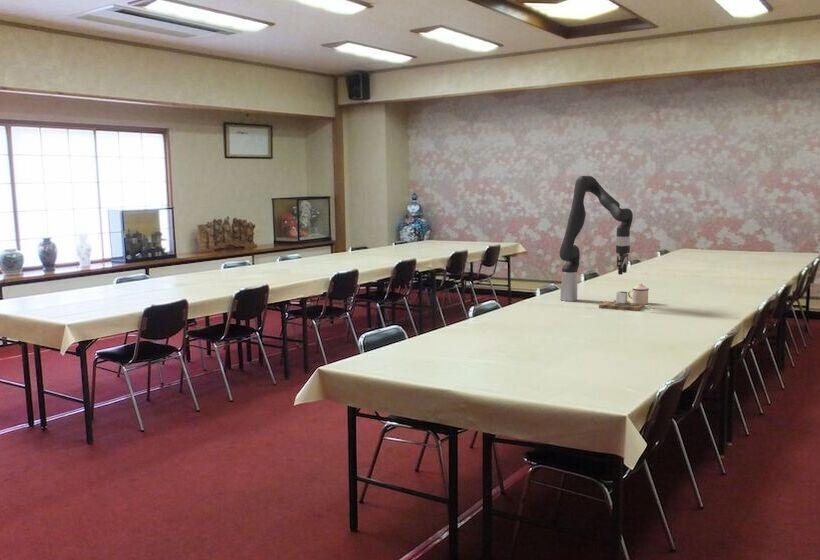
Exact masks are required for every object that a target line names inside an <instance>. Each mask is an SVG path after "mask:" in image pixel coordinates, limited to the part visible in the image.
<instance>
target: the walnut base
mask: <svg viewBox="0 0 820 560" xmlns="http://www.w3.org/2000/svg"><path fill="white" fill-rule="evenodd" d="M645 306H646V304H639V303H632V302H630V303H616V302H614V301H603V302H602V303H600V304H598V309H605V310H621V311H631V312H632V311H633V312H639V311H641V310H643V309H645Z"/></svg>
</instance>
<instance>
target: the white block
mask: <svg viewBox="0 0 820 560" xmlns="http://www.w3.org/2000/svg"><path fill="white" fill-rule="evenodd" d="M628 292H629V291H622V290H621V291H617V292H616V295H615V296H616V299H614V300H613V302H616V303H631V302H630V300H628Z"/></svg>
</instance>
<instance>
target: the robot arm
mask: <svg viewBox="0 0 820 560" xmlns="http://www.w3.org/2000/svg"><path fill="white" fill-rule="evenodd" d="M586 193H590V194H593V195H595V197H597V199H598V201H599V203H600V204H601V205H602V207H603V208H604V209H606V210H607V211H608V212H609V214H610V215H611V216H612V218H614V220H615V221H617V222H620V225H618V226H617V227H616V238H615V239H616V240H615V253H616V254H618V255H617V256H616V268H617V274H618V275H621V276H622V275H623V274H624V273H625V274H626V273H628V265H629V254H630V253H631V237H630V236H631V233H630V232H631V231H630V230H631V226H632V223H633V219H634V214H633V213H634V212H633V211H632V210H631V209H630V208H628V207H627V208H621V204H620V202H619V201H617V200H616V199H615V198H614V197H613V196H611V195H610V194H609V193H608V192H607V191H606V190H605V189H604V187H602V186H601V184H600V182H598V180H597V179H596V178H595V177H594V176H592V175H579V176H578V177H577V178H576V180H575V183H574V190H573V197H572V203H571V207H570V208H571V209H570V212H569V215H568V219H567V223H566V224H567V225H566V230H565V233H564V236H563V240H562V242H561V245H560V249H559V258H560V259H561V260H562V261H563V262H565V263H564V265H562V268H561V284H560V298H559V299H560V301H564V302H576V301H578V286H579V285H578V284H579V283H578V281H579V280H578V274H579V273H578V272H579V271H578V270H579V267H580V259H581V258H580V257H581V254H580V249H579V247H578V246H577V245H576V244H575V241H576V238H577V237H578V235H579V234H580V232H581V230H582V229H583V227H584V226H585V225H584V224H585V221H586V217H587V215H586V208H585V202H584V200H585V196H586Z"/></svg>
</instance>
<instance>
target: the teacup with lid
mask: <svg viewBox="0 0 820 560" xmlns="http://www.w3.org/2000/svg"><path fill="white" fill-rule="evenodd" d="M649 289H650V288H649V287H648V286H646V285H643V283H641V282H640V283H638V284H637V285H636V286H633V287H632V289H631V290H628V291H627V292H628V293H627V297H628V299H631V300H632V302H631V303H639V304H645V305H648V304H649ZM630 292H632V296H631V294H630Z"/></svg>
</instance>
